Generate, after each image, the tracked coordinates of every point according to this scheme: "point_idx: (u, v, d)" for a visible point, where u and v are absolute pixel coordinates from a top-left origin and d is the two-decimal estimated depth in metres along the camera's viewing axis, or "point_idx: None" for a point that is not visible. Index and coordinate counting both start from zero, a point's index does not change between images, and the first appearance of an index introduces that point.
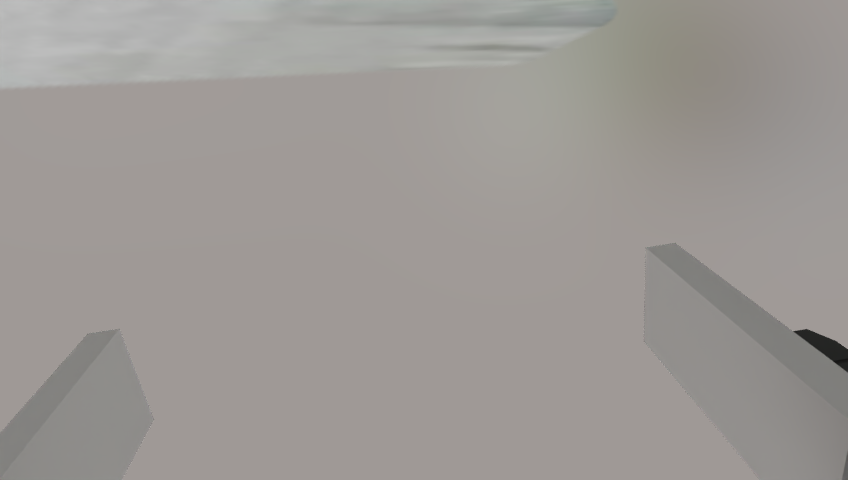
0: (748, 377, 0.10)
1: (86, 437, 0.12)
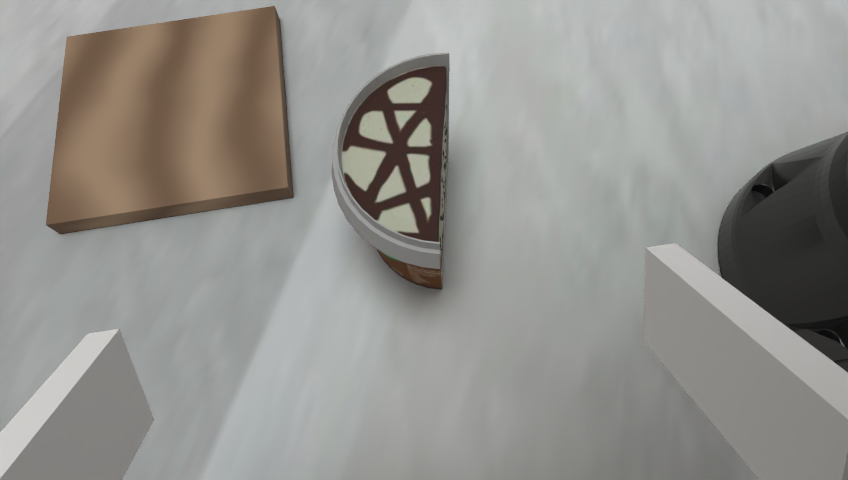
0: (748, 377, 0.10)
1: (86, 437, 0.12)
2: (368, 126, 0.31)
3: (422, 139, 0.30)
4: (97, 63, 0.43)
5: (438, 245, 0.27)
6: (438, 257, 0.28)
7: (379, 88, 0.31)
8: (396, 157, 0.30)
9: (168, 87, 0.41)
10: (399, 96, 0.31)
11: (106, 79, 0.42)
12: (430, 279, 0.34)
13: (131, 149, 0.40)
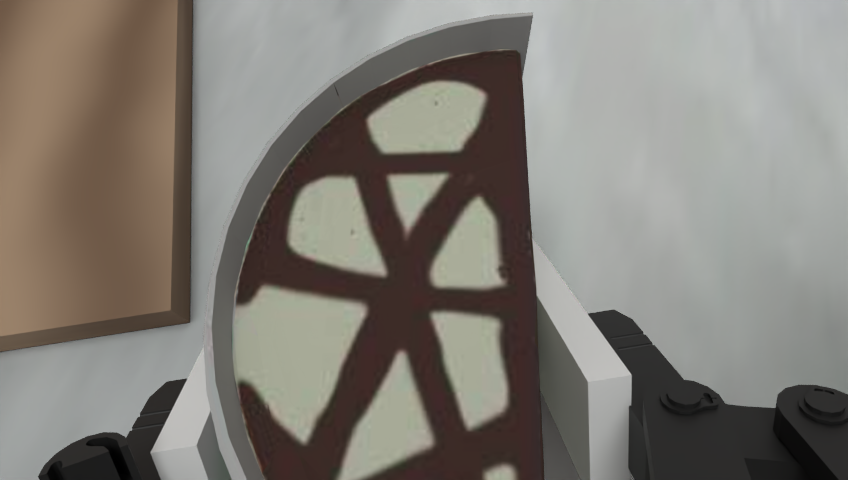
0: (550, 350, 0.12)
1: None
2: (315, 222, 0.11)
3: (475, 265, 0.10)
4: None
5: None
6: None
7: (346, 113, 0.12)
8: (400, 322, 0.10)
9: None
10: (400, 133, 0.11)
11: None
12: None
13: None
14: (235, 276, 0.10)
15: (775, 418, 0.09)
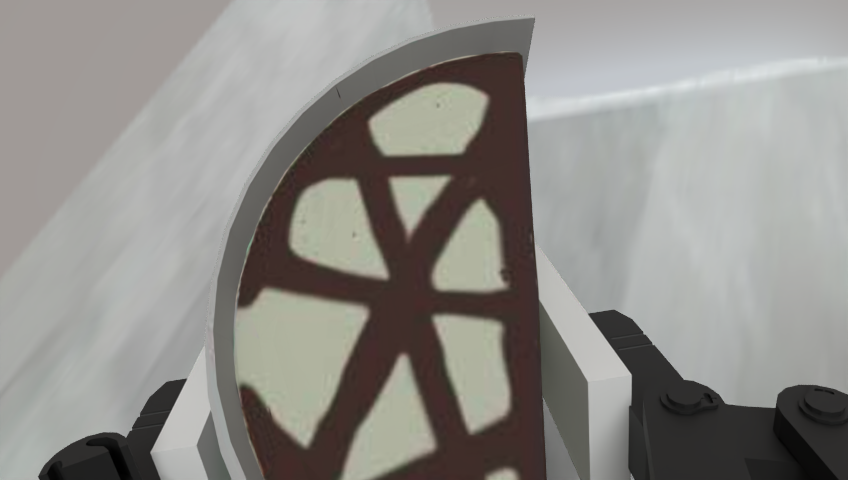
0: (550, 350, 0.12)
1: None
2: (316, 225, 0.11)
3: (477, 268, 0.10)
4: None
5: None
6: None
7: (348, 115, 0.11)
8: (402, 325, 0.10)
9: None
10: (402, 136, 0.11)
11: None
12: None
13: None
14: (237, 279, 0.10)
15: (775, 418, 0.09)
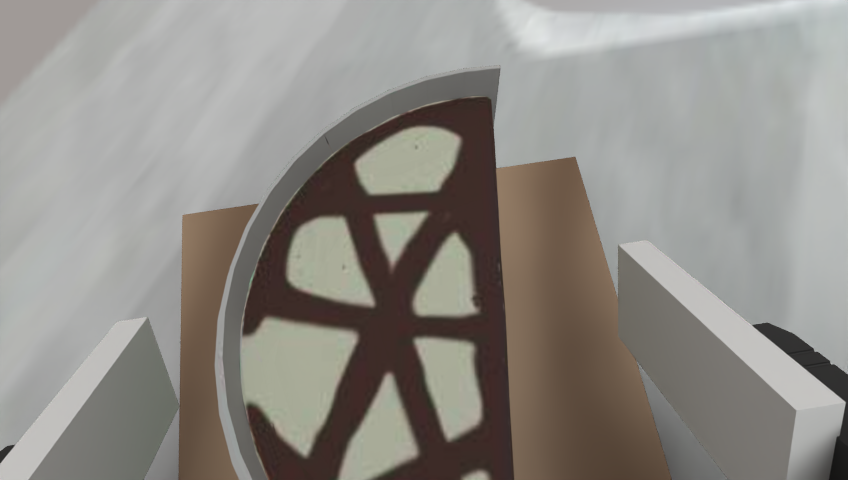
0: (708, 368, 0.11)
1: (120, 420, 0.12)
2: (310, 259, 0.12)
3: (452, 295, 0.11)
4: None
5: None
6: None
7: (336, 158, 0.13)
8: (387, 347, 0.11)
9: None
10: (384, 176, 0.13)
11: None
12: None
13: None
14: (241, 310, 0.11)
15: None
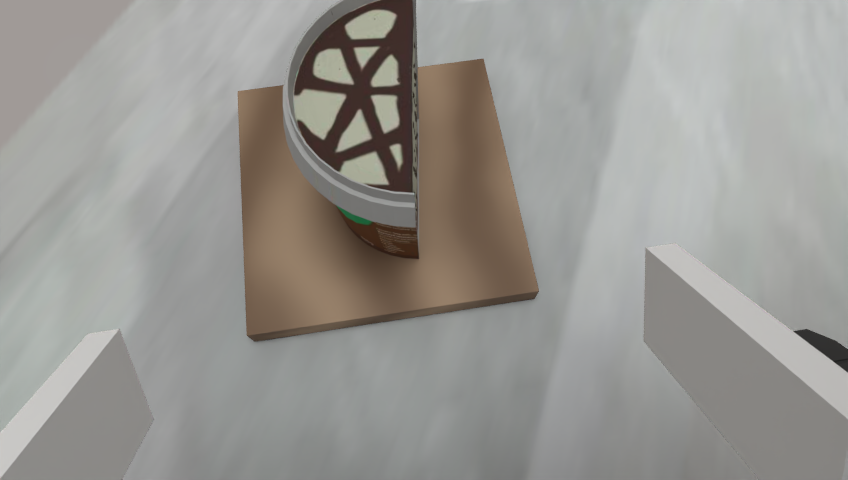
0: (748, 377, 0.10)
1: (86, 437, 0.12)
2: (323, 66, 0.26)
3: (388, 78, 0.25)
4: (280, 126, 0.35)
5: (413, 197, 0.23)
6: (413, 212, 0.23)
7: (335, 23, 0.27)
8: (359, 99, 0.25)
9: None
10: (359, 31, 0.27)
11: None
12: (405, 246, 0.30)
13: (338, 238, 0.33)
14: (293, 84, 0.25)
15: None
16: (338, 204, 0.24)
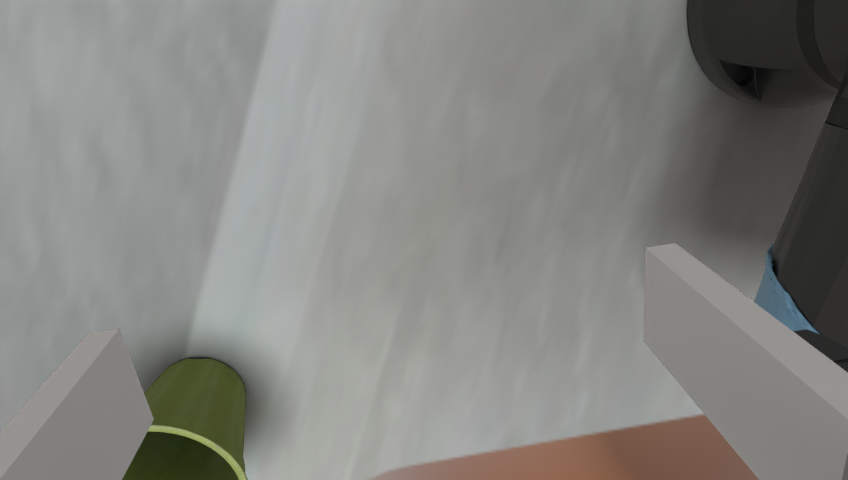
0: (748, 377, 0.10)
1: (86, 437, 0.12)
2: None
3: None
4: None
5: None
6: None
7: None
8: None
9: None
10: None
11: None
12: None
13: None
14: None
15: None
16: None
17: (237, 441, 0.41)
